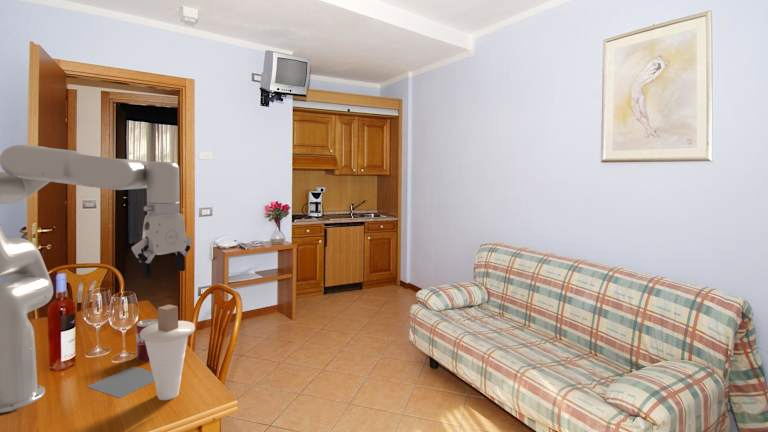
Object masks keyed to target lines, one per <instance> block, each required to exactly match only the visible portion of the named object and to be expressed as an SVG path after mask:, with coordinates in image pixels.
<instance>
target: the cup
mask: <svg viewBox="0 0 768 432" xmlns="http://www.w3.org/2000/svg"><path fill="white" fill-rule="evenodd" d="M188 337H189V336H187V337H184V338H181V339H178V340H173V341H167V342H148V341H145V344H146V348H147V352H148V356H149V361H148V362H149V364H150V368H151V372H152V373H153V377H154V382H153V383H154V386H155V391H156V395H157V399H158V400H160V401H168V400H173V399H175V398H177V396H179V395H180V394H179V392H180V387H181V381H182V373H183V367H184V363H185V355H186V350H187V344H188Z"/></svg>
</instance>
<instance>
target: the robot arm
mask: <svg viewBox="0 0 768 432" xmlns="http://www.w3.org/2000/svg"><path fill="white" fill-rule="evenodd" d="M0 167H1V169H2V170H3V171H0V205H9V204H10V205H11V204H16V203H19V202H22V201H24V200H26V199H28V198H29V197H30V196H32V195H33V194H35V193H36V192H38V191H40V190H41V189H42V188H43V187H45V186H46V185H48V184H50V182H51V183H58V184H66V185H73V186H81V187H82V186H83V187H89V188H96V189H105V190H115V191H124V190H140V189H146V201H147V202H146V205H144V207H143V211H145V212H146V215H145V216H144V220H143V226H142V234H141V235H142V237H141V240H140V241H139V242H136V243H135V244H134V245H133V246H131V251H132V253H133V254H134V257H135V259H137V260H138V262H139V263H141V276H142V277H143V278H145V279H153V278H154V264H153V263H154V262H152V261H153V259H154V258H155V256H159V255H160V256H162V255H167V254H172V253H175V254H176V255H174V270H176V271H179V272H185V271H186V257H187V256H188V253H189V251H190V249H191V246H192V243H193V238H192V237H189V236H187V233H186V223H185V219H184V215H183V213H180V212H181V211H180V208H181V207H180V204H181V203H180V193H181V192H180V166H179V165H178V164H177V163H176V162H169V161H145V160H140V159H139V160H137V159H131V158H130V159H127V158H125V159H124V158H114V157H103V156H95V155H89V154H82V153H81V152H79V151H77V150H71V149H63V148H54V147H48V146H42V145H41V146H40V145H29V144H16V145H12V146H9V147H6V148H5V149H3V151H2V152H1V153H0ZM142 251H143V252H142ZM6 277H8V278H9V280H8V281H5V282H2V283H0V414H4V413H8V412H13V411H17V409H19V408H24V407H25V406H28V405H30V404H33V403H35V402H37V401H39V400H40V399H41V398H42V397H43V396H44V395H45V393H46V388H45V387H44V386H42V385H38V375H37V374H38V373H37V359H36V358H37V357H36V354H37V353H36V341H35V339H36V338H35V330H34V327H33V324H32V322H31V321H30V320H29V318H28V315H27V314H28V313H30V312H33V311H35V310H37V309H39V308H41V307H43V306H45V305H46V304H48V303H49V302H50V301H51V299H52V297H53V296H54V285H53V282H52V279H51V277H50V274H49V271H48V269H47V267H46V264H45V262H44V259H43V256H42V254H41V252H40V250H39V248H38V247H37V246H36V245H35V244H34V243H33V242H31V241H30V240H28V239H25V238H23V237H11V238H7V237H6V235H5V233H4V231H3V228H2V226H1V224H0V279H2V278H6Z"/></svg>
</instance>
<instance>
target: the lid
mask: <svg viewBox="0 0 768 432" xmlns="http://www.w3.org/2000/svg"><path fill="white" fill-rule="evenodd" d="M157 320H158V323H156V324H153V325H150V326H148V327H146V328H144V329H143V330H141V332H140V337H141V339H142V340H144V341H148V342H167V341H173V340H178V339H181V338H184V337H187V336H188V337H189V336H191V335H192V334H193V333H194V332H196V331H195V330H196V324H195V323H194V322H191V321H187V320H179V306H177V305H173V304H166V305H164V306H160V307H157Z"/></svg>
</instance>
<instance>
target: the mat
mask: <svg viewBox="0 0 768 432" xmlns="http://www.w3.org/2000/svg"><path fill="white" fill-rule="evenodd" d="M152 383H155V382H154V377H153V373H152V370H147V369H145V368H142V367H141V368H140V367H139V366H131V367H129V368H126V369H124V370H121V371H120V372H117V373H115V374H112V375H110V376H108V377H106V378H102V379H101V380H98V381H95V382H93V383H91V384H89V385H86V388H89V389H92V390H95V391H97V392H100V393H104V394H106V395H108V396H112V397H115V398H118V399H122V398H123V397H125V396H127V395H129V394H132V393H134V392H136V391H139V390H140V389H142V388H143V387H146V386H148V385H150V384H152Z"/></svg>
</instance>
